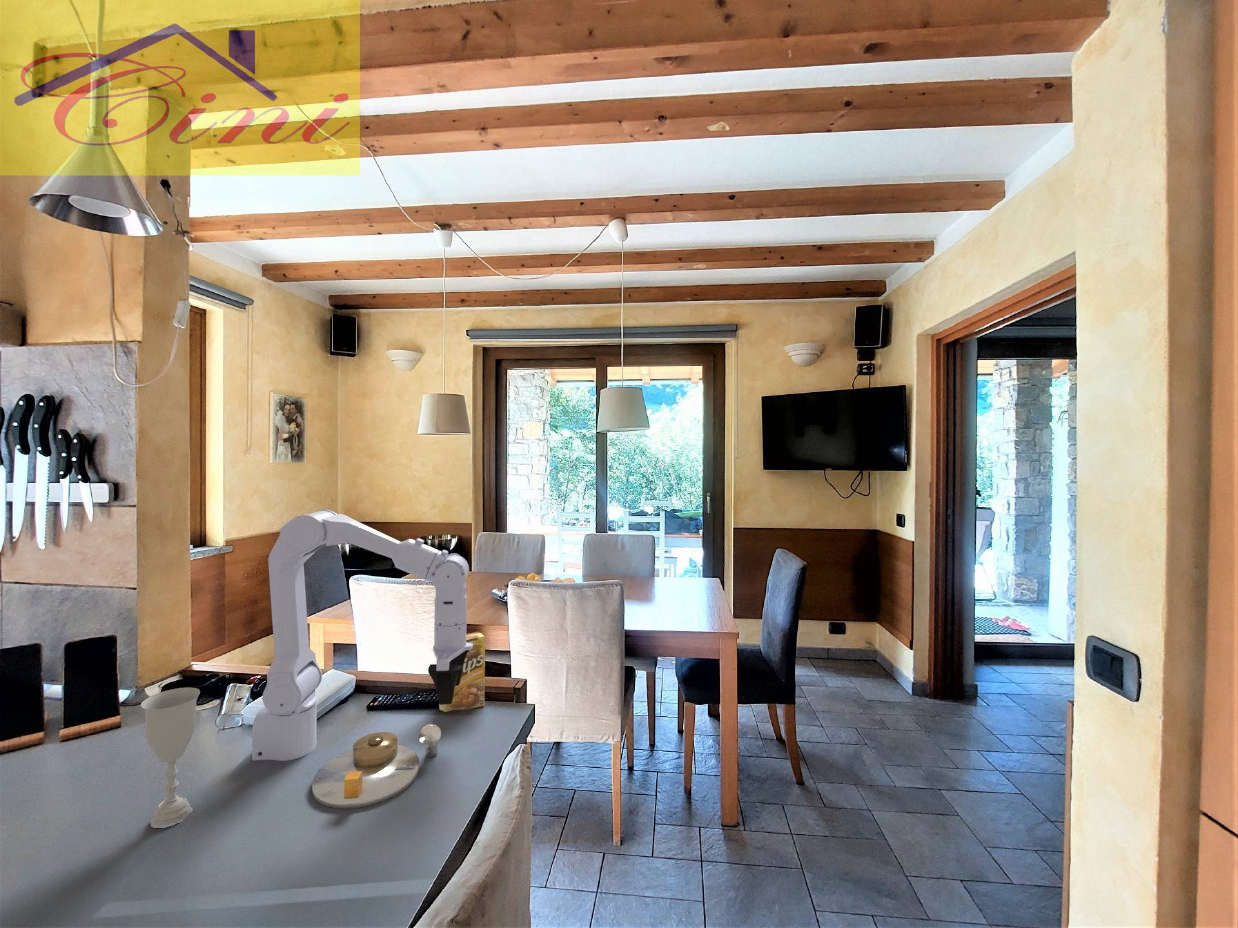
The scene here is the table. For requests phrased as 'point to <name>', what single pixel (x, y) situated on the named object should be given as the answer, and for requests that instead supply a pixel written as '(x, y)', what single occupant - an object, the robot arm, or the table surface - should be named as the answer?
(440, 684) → the robot arm
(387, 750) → the cover
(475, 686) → the candy box
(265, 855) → the table surface
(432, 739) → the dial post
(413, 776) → the turntable
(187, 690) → the chalice
